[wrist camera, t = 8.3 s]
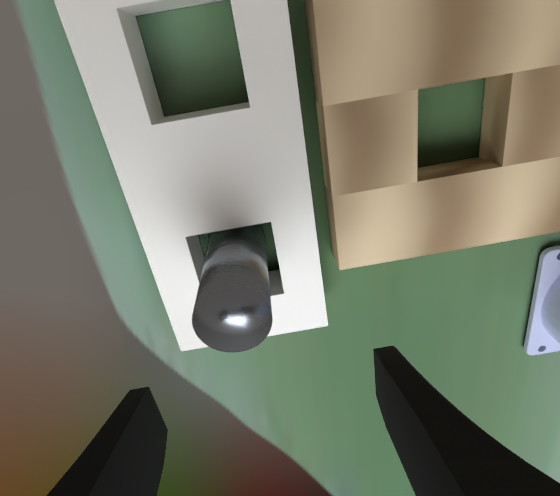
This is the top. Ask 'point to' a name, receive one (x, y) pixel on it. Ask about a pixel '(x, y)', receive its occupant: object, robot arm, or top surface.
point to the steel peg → (234, 291)
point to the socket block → (404, 123)
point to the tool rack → (206, 155)
